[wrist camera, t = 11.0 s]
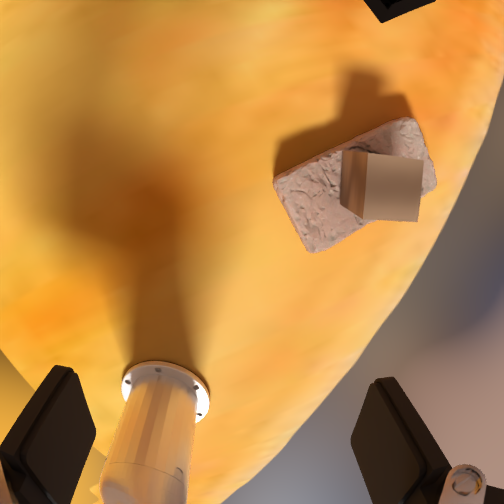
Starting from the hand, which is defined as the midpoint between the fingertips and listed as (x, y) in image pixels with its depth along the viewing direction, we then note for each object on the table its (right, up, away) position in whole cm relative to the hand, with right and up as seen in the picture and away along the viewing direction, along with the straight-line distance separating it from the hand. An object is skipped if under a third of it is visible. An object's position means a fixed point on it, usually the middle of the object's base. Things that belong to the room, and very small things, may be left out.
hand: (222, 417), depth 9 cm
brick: (+12, +13, +24) cm, 30 cm away
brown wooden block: (+11, +12, +19) cm, 25 cm away
